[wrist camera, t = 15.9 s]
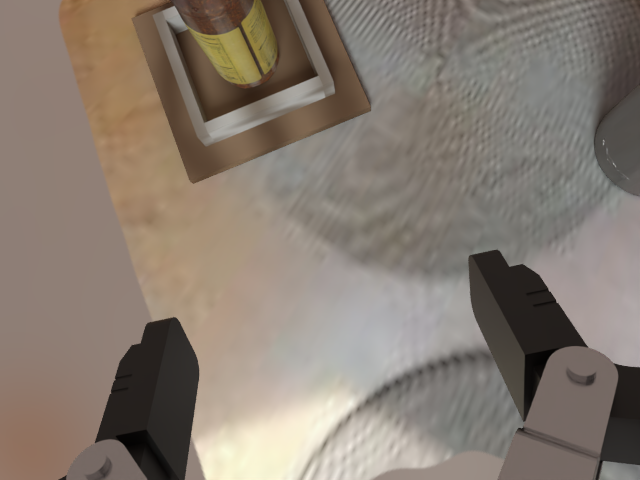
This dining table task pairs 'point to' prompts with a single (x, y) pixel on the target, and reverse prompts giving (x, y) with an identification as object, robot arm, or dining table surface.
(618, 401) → the robot arm
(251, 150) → the carrier board
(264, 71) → the sauce bottle
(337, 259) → the dining table surface
